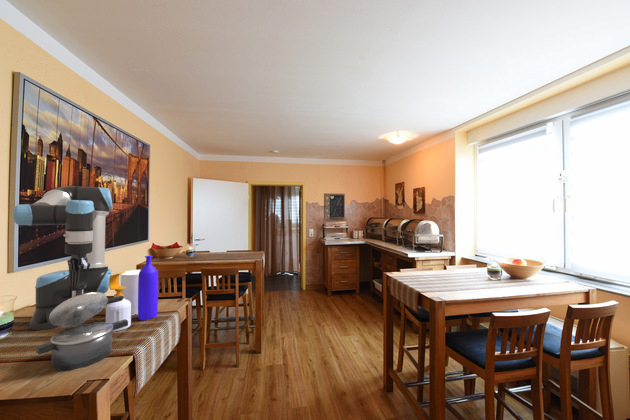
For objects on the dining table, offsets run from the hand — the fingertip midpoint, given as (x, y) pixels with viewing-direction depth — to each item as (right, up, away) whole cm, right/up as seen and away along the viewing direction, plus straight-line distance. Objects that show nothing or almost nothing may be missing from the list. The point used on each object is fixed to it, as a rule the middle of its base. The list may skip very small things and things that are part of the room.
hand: (77, 307), depth 96 cm
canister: (-7, -17, +42) cm, 46 cm away
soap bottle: (-1, -17, +21) cm, 27 cm away
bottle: (+5, -17, +33) cm, 38 cm away
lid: (+4, -1, +1) cm, 4 cm away
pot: (+5, -17, -2) cm, 18 cm away
